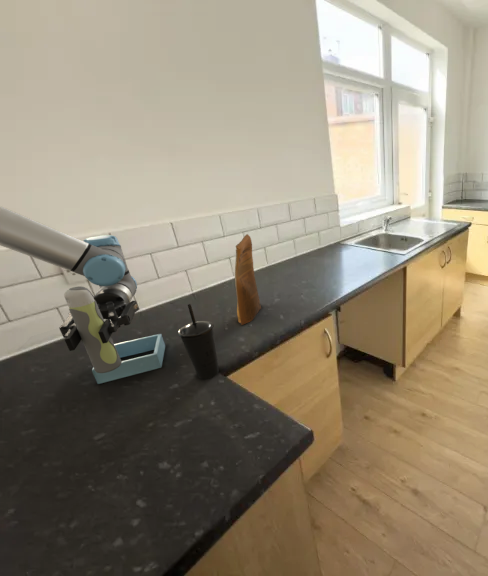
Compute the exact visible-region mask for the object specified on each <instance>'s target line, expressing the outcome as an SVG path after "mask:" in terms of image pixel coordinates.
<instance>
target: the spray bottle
mask: <svg viewBox="0 0 488 576" xmlns="http://www.w3.org/2000/svg"><path fill="white" fill-rule="evenodd" d="M63 296H64V299H65V302H66V304H67V306H68V311H69V313H71V315H72V318H73V320H74V322H75V325H76V327H77V329H78V332H79V334H80V336H81V339H82V340H81V342H82V344H83V346H84V348H85V350H86V351H85V352H86V353H87V356H88V357H89V360H90V363H91V365H92V368H93V367H94V370H95V371H96V372H97V373H106V372H110V371H112V370H115V369H116V368H118V367H119V366H120V365H121V363H122V361H123V360H122V359H121V358H120V356H119V354H118V352H117V349H116V347H115V345H114V344H115V342H114V339H113V337H112V335H111V336H110V338H109V340H108V342H107V343H104V344H103V343H102V340H101V338H100V336H99V333H98V332H99V330H100V329H101V327H102V325H103V323H104V322H105V319H103V317H102V315H101V312H100V310H99V308H98V305H97V303H96V301H95V300H94V294H93V293H92V292H91V290H90V289H89V288H87V287H84V286H73V287H70V288H68V289H66V290H65V292H64V294H63Z"/></svg>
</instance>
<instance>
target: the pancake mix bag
mask: <svg viewBox="0 0 488 576" xmlns="http://www.w3.org/2000/svg"><path fill="white" fill-rule="evenodd" d="M253 258H254V257H253V243H252V238H251V236H250V234H249V233H246V234H245V235H244V236H243V238H242V239H241V240H240V241H239V242H238V243H237V244H236V245H235V263H234V284H235V285H234V286H235V290H236V291H235V293H236V315H237V321H238V324H240V326H244V325H245V324H248V323H250V322H252V321H254V319H255V318H256V316H257V315H258V313H259V312H260V311H261V309H262V305H261V301H260V296H259V291H258V287H257V286H258V285H257V280H256V277H255V268H254V259H253Z"/></svg>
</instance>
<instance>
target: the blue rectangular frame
mask: <svg viewBox="0 0 488 576" xmlns="http://www.w3.org/2000/svg"><path fill="white" fill-rule="evenodd" d="M114 345H115V347H116V349H117V352H118V354H119V356H120V359H121V358H126V357H130V356H134V355H139V354H142V353H147V352H151V351H153V353H150V354H146V355H142V356H138V357H134V358H133V357H132V358H129V359H125V360H121V361H122V363H121V365H120V366H119V367H118V368H116V369H115V370H112V371H110V372H106V373H97V372H96V371H95V370H94V367H93V366H92V369H91V372H92V375H93V377H94V379H95V381H96V383H97V385H100V384H103V383H107V382H111V381H116V380H119V379H124V378H126V377H131V376H135V375H139V374H142V373H146V372H150V371H153V370H157V369H161V368H162V367H163V360H164V356H165V350H166V344H165V340H164V338H163V334H162V333H158V334H153V335H149V336H145V337H140V338H135V339H131V340H127V341H122V342H118V343H114Z"/></svg>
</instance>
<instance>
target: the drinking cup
mask: <svg viewBox="0 0 488 576" xmlns="http://www.w3.org/2000/svg"><path fill="white" fill-rule="evenodd" d="M187 307H188V311H189V316H190V319H191V322H189V323H188V324H186V325H184V326H182V327H181V328H179V329H178V331H177V335H178V336H179V337H180V339H181V341H182V343H183V346H184V347H185V350H186V352H187V355H188V358H189V360H190V361H191V364H192V366H193V368H194V370H195V373H196V375H197V377H198V379H200V380H208V379H211V378H214V377H215V376H216V375H218V374H219V372H220V371H219V370H220V368H219V363H218V356H217V349H216V341H215V335H214V323H213V322H212V321H208V320H198V321H196V318H195V314H194V310H193V307H192V304H191V303H189V304H187Z"/></svg>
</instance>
